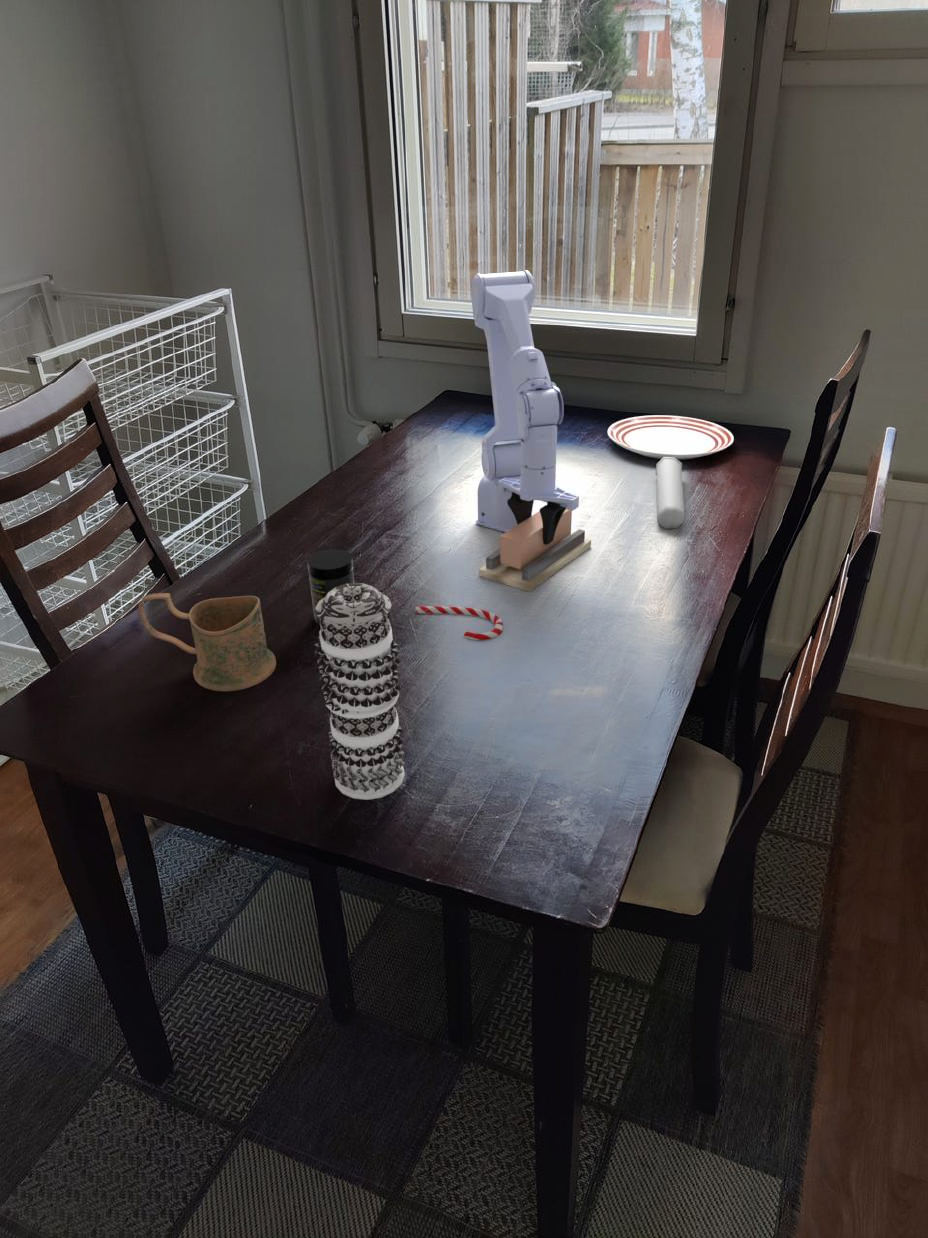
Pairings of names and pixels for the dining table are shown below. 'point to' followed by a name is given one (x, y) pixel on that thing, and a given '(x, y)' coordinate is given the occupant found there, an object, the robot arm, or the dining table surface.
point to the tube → (669, 492)
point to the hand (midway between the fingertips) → (536, 538)
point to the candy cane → (468, 611)
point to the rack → (536, 563)
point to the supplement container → (328, 573)
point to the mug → (223, 641)
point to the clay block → (530, 540)
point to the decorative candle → (361, 690)
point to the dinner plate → (670, 436)
